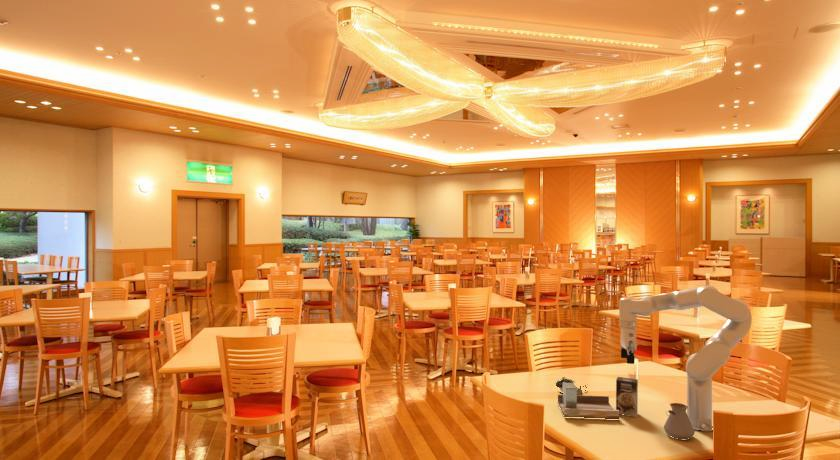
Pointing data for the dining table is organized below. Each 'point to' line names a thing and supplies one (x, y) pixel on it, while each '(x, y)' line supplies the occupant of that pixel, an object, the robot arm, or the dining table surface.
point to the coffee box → (627, 396)
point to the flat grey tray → (590, 407)
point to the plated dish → (560, 385)
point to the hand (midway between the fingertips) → (627, 360)
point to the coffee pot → (678, 422)
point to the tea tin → (569, 395)
